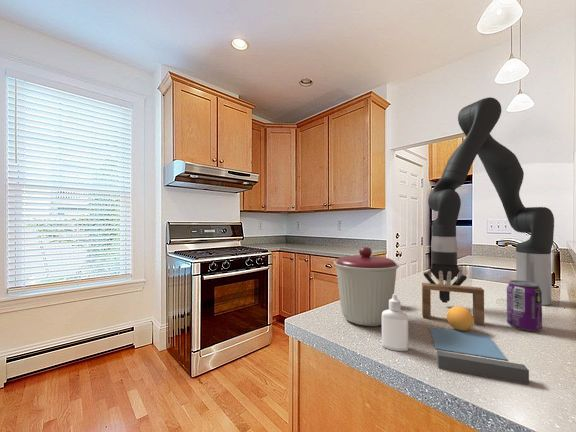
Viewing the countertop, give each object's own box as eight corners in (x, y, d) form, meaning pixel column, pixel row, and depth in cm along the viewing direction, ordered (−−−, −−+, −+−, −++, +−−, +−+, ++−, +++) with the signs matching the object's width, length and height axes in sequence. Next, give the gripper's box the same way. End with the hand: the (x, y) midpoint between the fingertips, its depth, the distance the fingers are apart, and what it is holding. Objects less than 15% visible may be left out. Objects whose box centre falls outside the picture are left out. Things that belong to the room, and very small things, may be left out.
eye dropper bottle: (401, 355, 58) (401, 299, 58) (378, 345, 62) (378, 293, 62) (411, 349, 60) (411, 295, 61) (388, 340, 65) (388, 290, 65)
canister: (367, 338, 66) (366, 252, 66) (321, 315, 81) (321, 245, 82) (413, 324, 75) (413, 248, 75) (364, 306, 91) (364, 243, 91)
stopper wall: (437, 363, 55) (437, 350, 55) (524, 378, 49) (524, 364, 49) (438, 368, 53) (438, 355, 53) (529, 384, 47) (528, 370, 47)
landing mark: (429, 327, 72) (429, 326, 72) (487, 335, 68) (487, 334, 68) (435, 349, 60) (435, 348, 60) (507, 360, 55) (507, 359, 55)
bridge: (422, 314, 82) (422, 282, 82) (481, 321, 76) (480, 287, 77) (423, 318, 79) (422, 285, 79) (484, 325, 74) (484, 290, 74)
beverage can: (549, 334, 68) (548, 286, 68) (517, 332, 70) (516, 285, 70) (530, 323, 75) (529, 280, 75) (501, 321, 77) (501, 279, 77)
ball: (444, 311, 76) (446, 301, 72) (469, 313, 74) (473, 303, 70) (447, 332, 72) (449, 323, 68) (473, 335, 70) (477, 326, 66)
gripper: (464, 249, 91) (465, 301, 91) (421, 248, 96) (421, 296, 96) (470, 252, 84) (470, 307, 84) (422, 250, 89) (423, 302, 89)
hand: (444, 301), depth 90 cm, fingers closed
